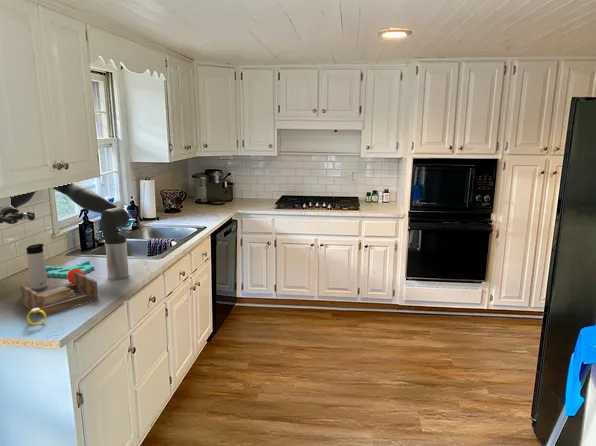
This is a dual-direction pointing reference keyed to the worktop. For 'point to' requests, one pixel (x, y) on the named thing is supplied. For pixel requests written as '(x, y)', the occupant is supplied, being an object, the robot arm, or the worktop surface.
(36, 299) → the walnut rack
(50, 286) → the mat
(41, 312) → the watch
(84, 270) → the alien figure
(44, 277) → the travel mug
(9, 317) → the worktop surface
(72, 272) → the clementine
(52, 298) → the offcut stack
